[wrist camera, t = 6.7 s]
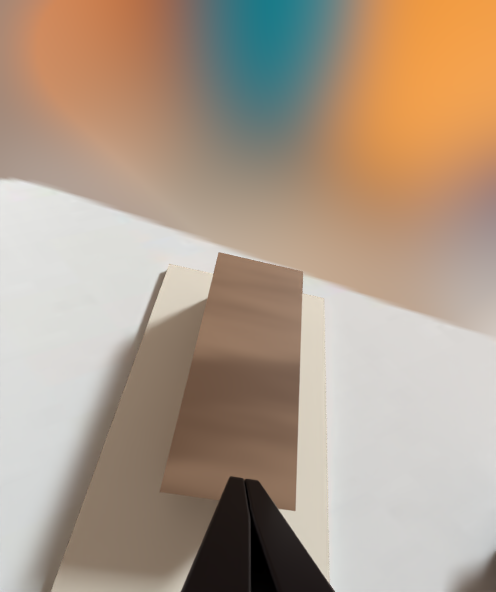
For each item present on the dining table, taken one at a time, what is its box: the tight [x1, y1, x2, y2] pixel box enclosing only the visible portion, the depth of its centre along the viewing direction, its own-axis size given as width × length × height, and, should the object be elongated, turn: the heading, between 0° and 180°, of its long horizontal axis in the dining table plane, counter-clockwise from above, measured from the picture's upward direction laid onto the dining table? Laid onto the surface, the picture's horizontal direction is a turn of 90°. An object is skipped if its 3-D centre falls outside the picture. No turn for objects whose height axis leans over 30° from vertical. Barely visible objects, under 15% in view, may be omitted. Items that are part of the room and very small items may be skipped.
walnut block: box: [160, 252, 303, 511], centre depth 13 cm, size 4×4×10 cm
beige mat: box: [51, 264, 330, 592], centre depth 14 cm, size 19×11×1 cm, turn 173°
